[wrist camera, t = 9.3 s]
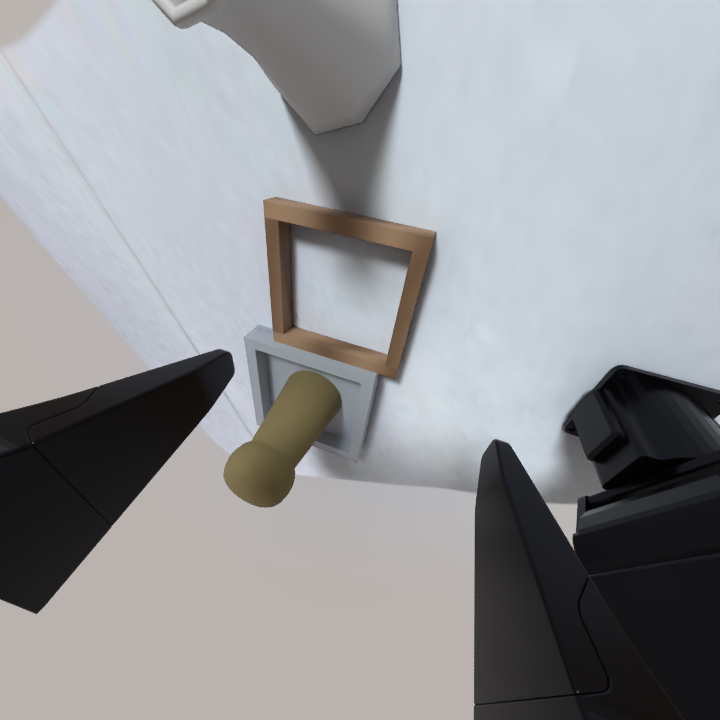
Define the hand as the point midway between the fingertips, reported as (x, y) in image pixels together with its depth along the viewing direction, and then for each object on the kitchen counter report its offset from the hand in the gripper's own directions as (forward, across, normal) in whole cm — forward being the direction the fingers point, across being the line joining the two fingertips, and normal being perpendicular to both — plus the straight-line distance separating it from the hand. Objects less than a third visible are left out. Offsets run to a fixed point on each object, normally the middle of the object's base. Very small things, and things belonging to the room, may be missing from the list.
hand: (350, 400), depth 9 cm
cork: (+13, +7, +14) cm, 20 cm away
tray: (+13, +7, +14) cm, 21 cm away
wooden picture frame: (+13, +5, +3) cm, 14 cm away
